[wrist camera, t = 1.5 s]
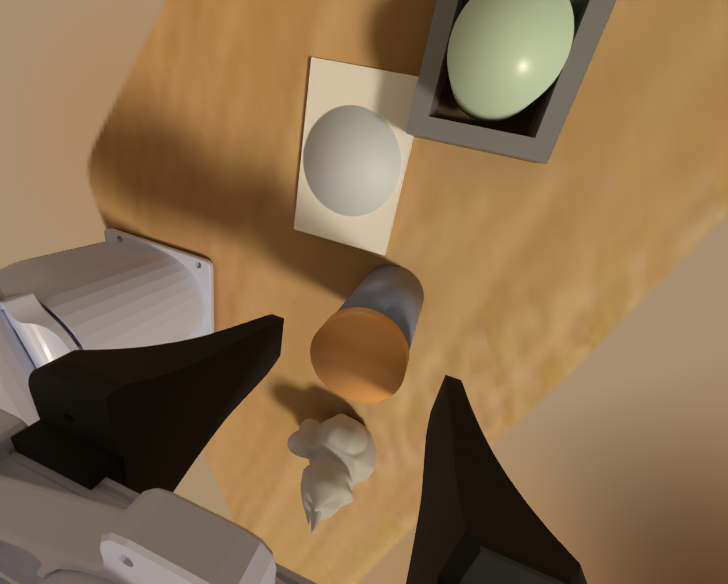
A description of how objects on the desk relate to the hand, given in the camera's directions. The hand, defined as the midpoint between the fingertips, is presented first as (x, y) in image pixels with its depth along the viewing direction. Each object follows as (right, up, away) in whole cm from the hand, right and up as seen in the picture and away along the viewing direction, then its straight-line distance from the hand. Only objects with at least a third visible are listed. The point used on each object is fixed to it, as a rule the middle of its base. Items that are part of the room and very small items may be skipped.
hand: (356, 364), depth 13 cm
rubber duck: (-1, -8, +13) cm, 15 cm away
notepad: (0, +10, +4) cm, 11 cm away
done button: (+6, +12, 0) cm, 14 cm away
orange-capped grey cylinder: (+2, +3, +7) cm, 8 cm away
